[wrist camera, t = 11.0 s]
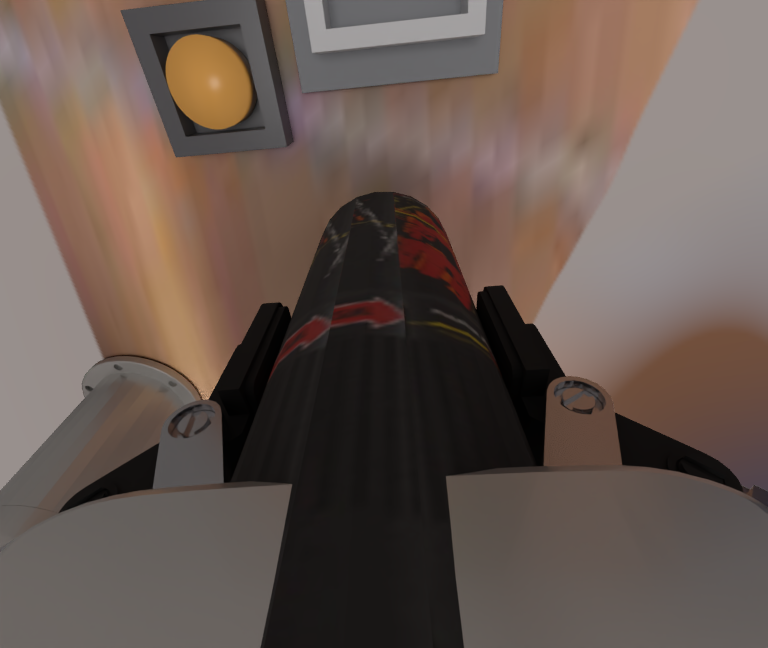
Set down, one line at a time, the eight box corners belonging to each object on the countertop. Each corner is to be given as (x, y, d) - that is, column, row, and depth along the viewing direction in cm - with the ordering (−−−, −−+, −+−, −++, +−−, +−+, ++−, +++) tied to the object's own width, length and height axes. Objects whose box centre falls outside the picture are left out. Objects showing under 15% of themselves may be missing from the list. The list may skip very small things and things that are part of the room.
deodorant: (295, 224, 16) (12, 718, 4) (423, 167, 15) (625, 639, 3) (354, 326, 19) (302, 784, 7) (464, 287, 18) (645, 763, 6)
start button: (265, 121, 26) (257, 125, 24) (197, 128, 26) (184, 132, 25) (244, 32, 23) (233, 29, 22) (167, 41, 24) (151, 39, 22)
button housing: (293, 141, 28) (286, 146, 26) (189, 151, 28) (176, 157, 26) (264, 0, 23) (254, -6, 21) (141, 14, 23) (120, 10, 22)
